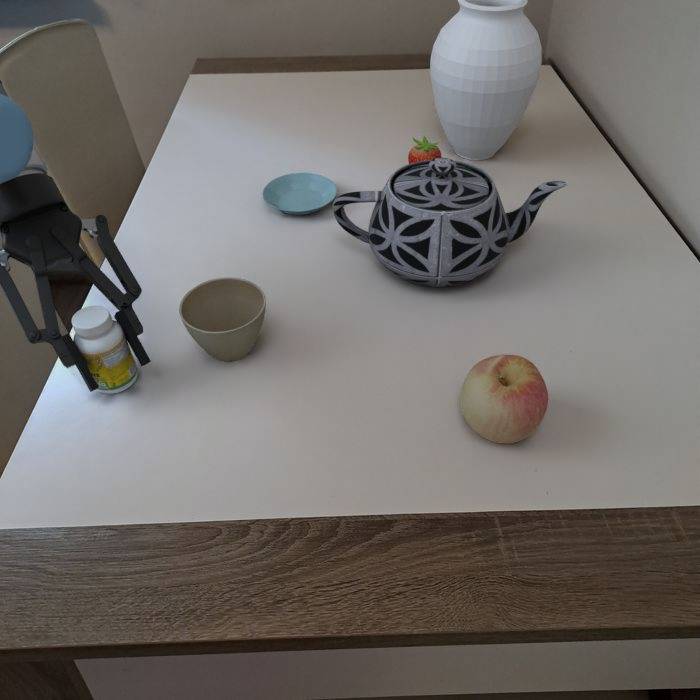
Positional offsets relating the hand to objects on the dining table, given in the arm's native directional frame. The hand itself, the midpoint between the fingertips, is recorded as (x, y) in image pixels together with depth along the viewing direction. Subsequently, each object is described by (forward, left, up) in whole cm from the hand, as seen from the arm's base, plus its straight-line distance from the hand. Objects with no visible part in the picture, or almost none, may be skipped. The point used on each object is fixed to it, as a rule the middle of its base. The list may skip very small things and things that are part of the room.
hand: (120, 376), depth 71 cm
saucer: (+30, +34, -4) cm, 46 cm away
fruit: (+51, +33, -4) cm, 61 cm away
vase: (+64, +40, -4) cm, 76 cm away
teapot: (+45, +12, -4) cm, 47 cm away
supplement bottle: (-1, +3, -4) cm, 5 cm away
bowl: (+13, +4, -4) cm, 14 cm away
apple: (+38, -18, -4) cm, 42 cm away
